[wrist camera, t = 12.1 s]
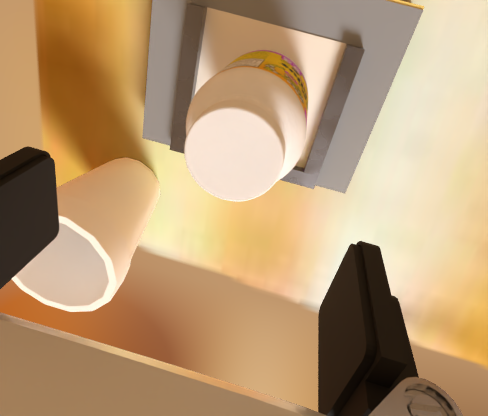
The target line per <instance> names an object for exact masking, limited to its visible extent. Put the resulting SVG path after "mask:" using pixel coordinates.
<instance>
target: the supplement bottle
mask: <svg viewBox="0 0 488 416" xmlns="http://www.w3.org/2000/svg"><path fill="white" fill-rule="evenodd" d="M307 113H308V88H307V83H306V80H305V77H304V75H303V73H302V72H301V70H300V69H299V67H298V66H297V65H296V64H295V63H294V62H293V61H292V60H291V59H290V58H288V57H287V56H285V55H283V54H281V53H279V52H276V51H272V50H256V51H251V52H249V53H246V54H244V55H242V56H240V57H238V58H237V59H235V60H234V61H233V62H231V63H230V64H229V65H228V66H226V67H225V68H224V69H222V70H221V71H220V72H218V73H217V74H216V75H214V76H213V77H212V78H210V79H209V80H208V81H207V82H206V83H205V84H204V85H203V86H202V87H201V88H200V89H199V90H198V91H197V93H196V94H195V96H194V98H193V99H192V102H191V104H190V106H189V109H188V113H187V118H186V140H185V145H184V155H185V160H186V165H187V168H188V170H189V172H190V174H191V175H192V177H193V178H194V180H195V181H196V182H197V183H198V185H199V186H200V187H202V188H203V189H204V190H205V191H207V192H208V193H210V194H212V195H213V196H215V197H218V198H220V199H224V200H228V201H247V200H250V199H254V198H256V197H259V196H260V195H262V194H264V193H265V192H267V191H268V190H269V189H270V188H271V187H272V186H273V185H274V184H275V183H276V182H277V181H278V180H280V179H282V178H283V177H284V176H285V175H287V174H288V173H289V172H290V171H291V170H292V169H293V167H294V166H295V165H296V163H297V162H298V160H299V158H300V156H301V154H302V151H303V149H304V145H305V140H306V129H307Z"/></svg>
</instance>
